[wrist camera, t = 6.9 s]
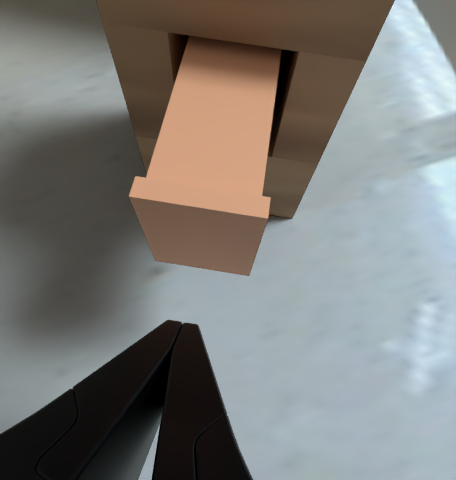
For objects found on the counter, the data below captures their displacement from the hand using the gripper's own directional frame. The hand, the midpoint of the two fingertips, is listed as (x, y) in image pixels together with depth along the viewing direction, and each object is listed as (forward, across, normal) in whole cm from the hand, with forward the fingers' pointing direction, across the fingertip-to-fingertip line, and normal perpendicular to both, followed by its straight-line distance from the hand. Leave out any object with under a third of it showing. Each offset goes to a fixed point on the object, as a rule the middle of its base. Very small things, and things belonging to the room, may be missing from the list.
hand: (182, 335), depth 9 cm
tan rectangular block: (+6, 0, -3) cm, 7 cm away
